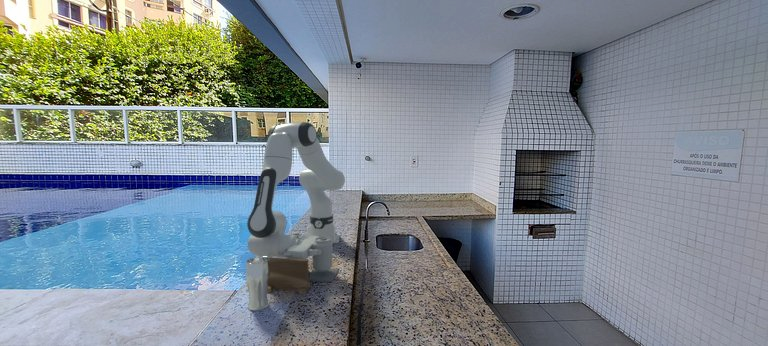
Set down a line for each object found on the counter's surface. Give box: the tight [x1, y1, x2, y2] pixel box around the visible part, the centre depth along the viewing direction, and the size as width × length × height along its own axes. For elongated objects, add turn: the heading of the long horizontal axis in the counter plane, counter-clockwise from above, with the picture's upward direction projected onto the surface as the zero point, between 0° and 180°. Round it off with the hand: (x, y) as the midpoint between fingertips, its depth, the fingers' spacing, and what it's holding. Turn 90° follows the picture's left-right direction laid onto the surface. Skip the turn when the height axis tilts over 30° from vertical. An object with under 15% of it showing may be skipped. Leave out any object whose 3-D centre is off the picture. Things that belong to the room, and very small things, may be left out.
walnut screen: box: [267, 257, 311, 295], centre depth 109 cm, size 6×14×11 cm, turn 86°
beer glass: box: [245, 256, 270, 312], centre depth 97 cm, size 7×7×15 cm
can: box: [312, 237, 333, 271], centre depth 121 cm, size 8×8×12 cm
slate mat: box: [308, 268, 339, 283], centre depth 122 cm, size 11×10×1 cm
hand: (324, 248), depth 120 cm, fingers closed on can, 7 cm apart
